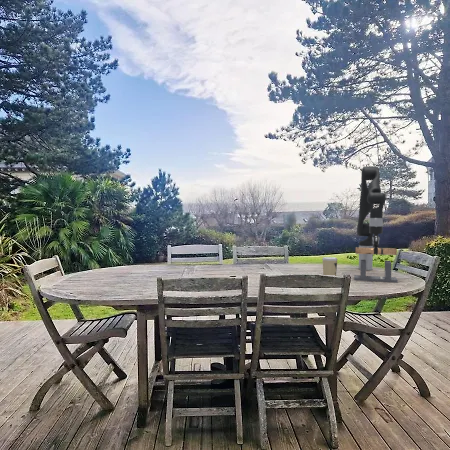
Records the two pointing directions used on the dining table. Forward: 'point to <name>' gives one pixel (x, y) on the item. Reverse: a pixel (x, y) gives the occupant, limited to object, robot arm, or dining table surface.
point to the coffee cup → (329, 265)
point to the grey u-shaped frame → (376, 278)
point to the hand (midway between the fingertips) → (375, 253)
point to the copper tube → (380, 251)
